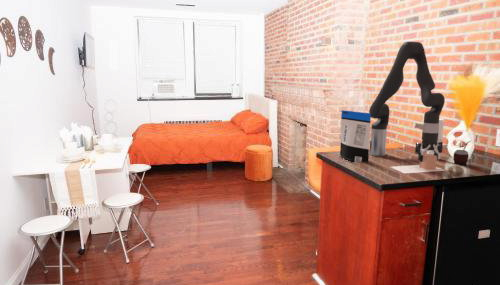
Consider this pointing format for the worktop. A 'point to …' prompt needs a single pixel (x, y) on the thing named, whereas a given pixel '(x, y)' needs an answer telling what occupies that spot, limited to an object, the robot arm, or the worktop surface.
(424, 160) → the salmon pink cube
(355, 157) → the protein powder
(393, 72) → the robot arm
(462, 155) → the mate gourd
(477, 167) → the worktop surface
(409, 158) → the worktop surface
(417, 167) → the white board
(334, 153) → the worktop surface
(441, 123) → the cylindrical container
